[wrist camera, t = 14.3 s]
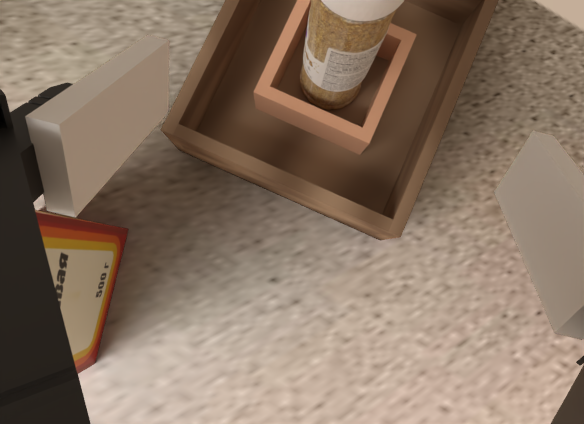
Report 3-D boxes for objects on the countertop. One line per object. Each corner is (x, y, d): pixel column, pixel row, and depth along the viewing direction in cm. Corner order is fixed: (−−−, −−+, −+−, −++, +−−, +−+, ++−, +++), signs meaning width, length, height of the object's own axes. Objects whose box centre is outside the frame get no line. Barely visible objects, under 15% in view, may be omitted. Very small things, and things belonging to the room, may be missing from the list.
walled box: (179, 150, 30) (160, 129, 25) (280, -55, 32) (281, -112, 27) (380, 240, 30) (400, 237, 25) (469, 28, 32) (504, -14, 27)
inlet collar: (255, 108, 30) (253, 92, 27) (301, 11, 31) (304, -16, 28) (360, 154, 30) (369, 143, 27) (403, 56, 31) (416, 34, 28)
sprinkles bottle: (299, 51, 30) (314, -111, 17) (361, 53, 30) (425, -107, 17) (298, 112, 30) (314, -7, 16) (361, 113, 30) (428, -3, 17)
